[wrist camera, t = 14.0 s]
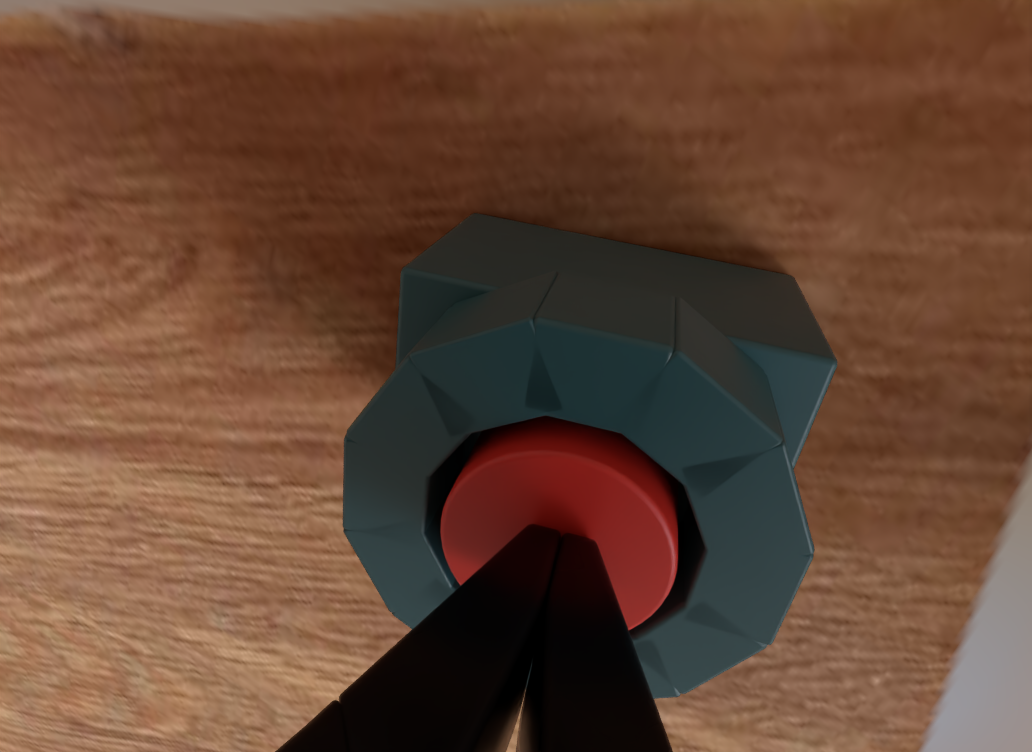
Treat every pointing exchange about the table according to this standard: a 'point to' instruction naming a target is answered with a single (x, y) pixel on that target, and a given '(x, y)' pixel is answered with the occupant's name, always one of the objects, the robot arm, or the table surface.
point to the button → (568, 504)
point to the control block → (601, 417)
